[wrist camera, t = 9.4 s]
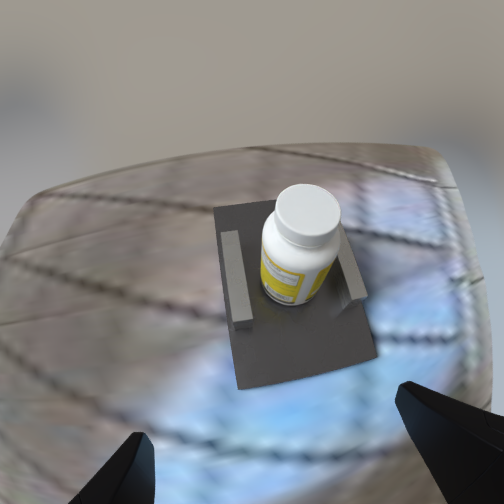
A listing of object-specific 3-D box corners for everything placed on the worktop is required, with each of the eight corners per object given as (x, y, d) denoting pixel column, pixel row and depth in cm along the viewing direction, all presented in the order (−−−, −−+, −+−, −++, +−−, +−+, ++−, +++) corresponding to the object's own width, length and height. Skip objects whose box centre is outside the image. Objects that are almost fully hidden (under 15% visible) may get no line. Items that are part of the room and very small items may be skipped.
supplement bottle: (311, 248, 26) (337, 173, 17) (326, 301, 23) (366, 241, 14) (255, 255, 25) (257, 178, 17) (264, 311, 22) (273, 253, 14)
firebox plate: (373, 358, 21) (389, 351, 18) (238, 389, 20) (236, 389, 17) (320, 199, 30) (326, 179, 27) (214, 212, 29) (210, 191, 26)
